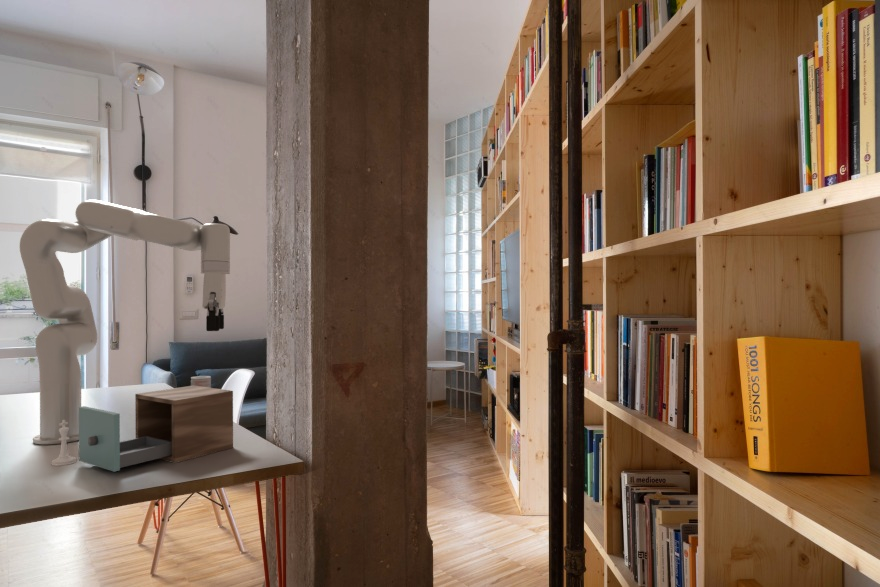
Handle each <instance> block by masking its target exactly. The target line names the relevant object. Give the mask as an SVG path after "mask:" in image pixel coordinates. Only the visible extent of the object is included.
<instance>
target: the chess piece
mask: <svg viewBox="0 0 880 587" xmlns="http://www.w3.org/2000/svg"><path fill="white" fill-rule="evenodd" d="M66 424H68V422H65V420H62V423H60V425H62V428H60V429H59V432H60V435H61V438H59V440H62V441H61V443H60V452H59V455H58V456H57V458H54V459H53V460H51V465H52V466H54V467H55V466H56V467H57V466H59V467H60V466H68V465H73V464H74V463H76V462H77V458H76V456H73V455H70V454H69V452H68V444H67V443H68V442H67V443H66V440H68V439H69V437H67V433H68V430H69V428H68V427H65V425H66Z"/></svg>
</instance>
